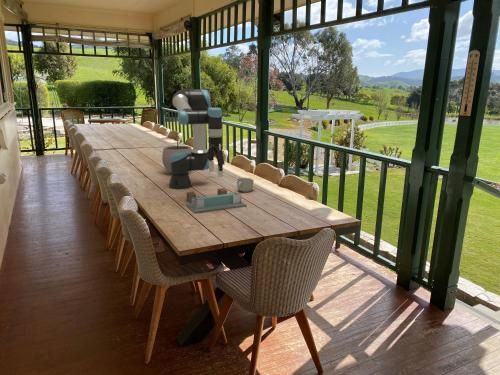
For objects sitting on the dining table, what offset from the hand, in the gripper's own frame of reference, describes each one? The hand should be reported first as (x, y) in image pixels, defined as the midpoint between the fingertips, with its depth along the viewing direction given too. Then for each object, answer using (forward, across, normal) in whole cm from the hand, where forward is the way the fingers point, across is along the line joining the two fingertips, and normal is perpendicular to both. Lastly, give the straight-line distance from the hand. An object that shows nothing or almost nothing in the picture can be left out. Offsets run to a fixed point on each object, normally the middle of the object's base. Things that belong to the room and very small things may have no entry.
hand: (215, 174), depth 218 cm
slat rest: (+19, -16, 0) cm, 24 cm away
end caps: (+19, 0, 0) cm, 19 cm away
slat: (+18, 0, 0) cm, 18 cm away
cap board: (+19, 0, 0) cm, 19 cm away
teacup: (+19, -22, +28) cm, 41 cm away
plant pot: (+19, -92, +4) cm, 95 cm away
